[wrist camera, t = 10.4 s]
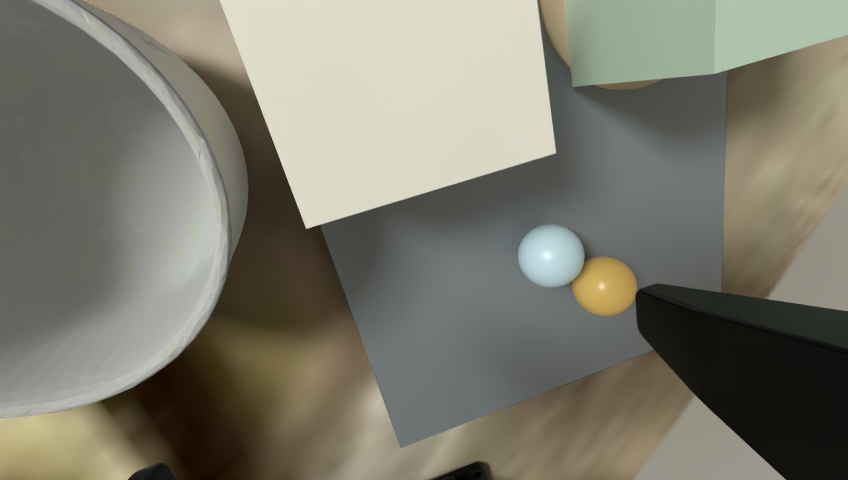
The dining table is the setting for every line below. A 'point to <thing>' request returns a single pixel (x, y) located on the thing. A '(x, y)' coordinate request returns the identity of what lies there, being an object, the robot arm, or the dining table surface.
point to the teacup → (105, 205)
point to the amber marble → (605, 286)
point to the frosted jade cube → (690, 35)
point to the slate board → (499, 242)
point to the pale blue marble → (551, 255)
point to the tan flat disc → (557, 36)
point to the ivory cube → (393, 94)
